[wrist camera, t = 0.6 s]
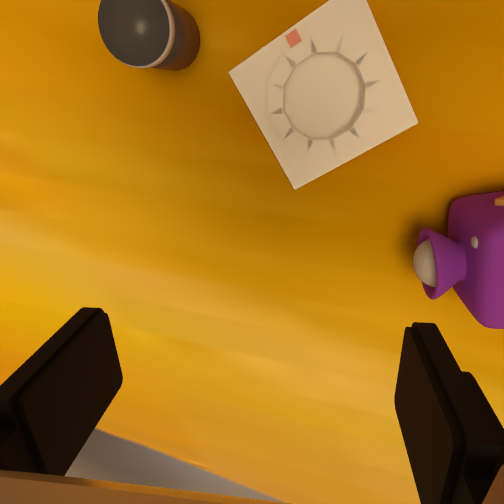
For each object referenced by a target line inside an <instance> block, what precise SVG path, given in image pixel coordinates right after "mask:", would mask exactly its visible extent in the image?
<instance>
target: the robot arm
mask: <svg viewBox="0 0 504 504" xmlns="http://www.w3.org/2000/svg"><path fill="white" fill-rule="evenodd" d="M122 380H123V376H122V371H121V367H120V363H119V359H118V354H117V350H116V346H115V342H114V338H113V333H112V329H111V325H110V321H109V317H108V314H107V313H104V311H103V310H102V309H101V308H89V307H84V308H81V309H80V310H79V311H78V312H77V313H76V314H75V315H74V316H73V317H72V318H71V319H69V320H68V321H67V322H66V323H65V324H64V325H63V326H62V327H61V328H60V329H59V330H58V331H57V332H56V333H55V334H54V335H53V336H52V337H51V338H50V339H49V340H48V341H46V342H45V343H44V344H43V345H42V346H41V347H40V348H39V349H38V350H37V351H36V352H35V353H34V354H33V355H32V356H31V357H30V358H29V359H28V360H27V361H26V362H25V363H23V364H22V365H21V366H20V367H19V368H18V369H17V370H16V371H15V372H14V373H13V374H12V375H11V376H10V377H9V378H8V379H7V380H6V381H5V382H4V383H3V384H2V385H0V504H290V503H282V502H274V501H265V500H258V499H249V498H242V497H234V496H226V495H218V494H210V493H201V492H193V491H185V490H177V489H169V488H160V487H152V486H144V485H134V484H126V483H117V482H110V481H100V480H92V479H83V478H74V477H65V476H64V475H65V474H66V472H67V471H68V469H69V467H70V466H71V464H72V463H73V461H74V460H75V458H76V456H77V455H78V453H79V452H80V450H81V448H82V447H83V445H84V444H85V442H86V441H87V439H88V438H89V436H90V434H91V433H92V431H93V430H94V428H95V427H96V425H97V423H98V422H99V420H100V419H101V417H102V416H103V414H104V412H105V411H106V409H107V408H108V406H109V405H110V403H111V401H112V400H113V398H114V397H115V395H116V394H117V392H118V390H119V389H120V387H121V385H122ZM395 409H396V413H397V417H398V420H399V424H400V428H401V431H402V435H403V439H404V443H405V446H406V450H407V454H408V457H409V461H410V465H411V468H412V472H413V476H414V480H415V483H416V487H417V491H418V494H419V498H420V502H421V504H504V428H503V427H502V425H501V423H500V421H499V420H498V418H497V416H496V415H495V413H494V411H493V409H492V408H491V406H490V404H489V402H488V401H487V399H486V397H485V395H484V394H483V392H482V390H481V388H480V387H479V385H478V383H477V381H476V380H475V378H474V377H473V375H472V374H471V373H469V372H463V371H461V370H460V368H459V366H458V364H457V362H456V360H455V359H454V357H453V355H452V353H451V351H450V349H449V348H448V346H447V344H446V342H445V340H444V338H443V336H442V335H441V333H440V331H439V329H438V327H437V326H436V324H434V323H418V322H414V323H413V324H412V327H406V328H405V332H404V338H403V345H402V352H401V358H400V365H399V371H398V378H397V384H396V391H395Z"/></svg>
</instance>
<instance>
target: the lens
mask: <svg viewBox="0 0 504 504" xmlns="http://www.w3.org/2000/svg"><path fill="white" fill-rule="evenodd" d="M98 24H99V30H100V34H101V37H102V39H103V41H104V43H105V45H106V47H107V48H108V50H109V51H110V52H111V53H112V54H113V55H114V56H115V57H116V58H117V59H118V60H120V61H121V62H122V63H124V64H126V65H128V66H131V67H136V68H158V69H166V70H181V69H184V68H186V67H188V66H189V65H190V64H191V63H192V62H193V61H194V59H195V58H196V56H197V54H198V51H199V47H200V33H199V29H198V26H197V24H196V22H195V20H194V19H193V17H192V16H191V15H190V14H189V13H188V12H187V11H186V10H184V9H183V8H181V7H180V6H178V5H176V4H175V3H173V2H171V1H170V0H101V3H100V6H99V12H98Z"/></svg>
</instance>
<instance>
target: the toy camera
mask: <svg viewBox="0 0 504 504" xmlns="http://www.w3.org/2000/svg"><path fill="white" fill-rule="evenodd" d="M413 267H414V270H415V273H416V275H417V276H418V278H419V279H420V280H421V281H422V284H423V288H424V290H425V292H426V294H427V296H428V297H429V298H430V299H436V298H438V297H440V296H441V295H442V294H444V293H445V292H446V291H447V290H449V289H450V288H451V287H453V288H454V290H455V291H456V293H457V294H458V296H459V297H460V299H461V300H462V302H463V303H464V304H465V306H466V307H467V308H468V310H469V311H470V312H471V314H472V315H473V316H474V317H475V319H476V320H477V321H478V322H479V323H480V324H482V325H483V326H485V327H488V328H494V329H504V191H500V192H492V193H485V194H477V195H470V196H465V197H461V198H458V199H456V200H455V201H453V203H452V204H451V206H450V210H449V217H448V235H447V237H445V236H443V235H442V234H440V233H438V232H436V231H434V230H431V229H428V228H422V229H421V231H420V233H419V236H418V241H417V249H416V251H415V253H414V256H413Z"/></svg>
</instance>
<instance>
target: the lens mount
mask: <svg viewBox="0 0 504 504" xmlns="http://www.w3.org/2000/svg"><path fill="white" fill-rule="evenodd" d="M229 74H230V76H231V78H232V80H233V81H234V83H235V85H236V87H237V88H238V90H239V92H240V94H241V96H242V97H243V99H244V101H245V103H246V104H247V106H248V108H249V110H250V111H251V113H252V115H253V117H254V119H255V120H256V122H257V124H258V126H259V127H260V129H261V131H262V133H263V135H264V136H265V138H266V140H267V142H268V143H269V145H270V147H271V149H272V151H273V152H274V154H275V156H276V158H277V159H278V161H279V163H280V165H281V167H282V168H283V170H284V172H285V174H286V175H287V177H288V179H289V181H290V182H291V184H292V186H293V188H294V190H296V189H298V188H299V187H301V186H303V185H305V184H307V183H309V182H311V181H312V180H314V179H316V178H318V177H320V176H322V175H323V174H325V173H327V172H329V171H331V170H333V169H335V168H336V167H338V166H340V165H342V164H344V163H346V162H347V161H349V160H351V159H353V158H355V157H357V156H358V155H360V154H362V153H364V152H366V151H368V150H370V149H371V148H373V147H375V146H377V145H379V144H381V143H382V142H384V141H386V140H388V139H390V138H392V137H393V136H395V135H397V134H399V133H401V132H403V131H405V130H406V129H408V128H410V127H412V126H414V125H416V124H417V123H418V121H417V118H416V116H415V113H414V111H413V109H412V106H411V104H410V102H409V99H408V97H407V95H406V92H405V90H404V88H403V85H402V83H401V80H400V78H399V76H398V73H397V71H396V69H395V66H394V64H393V62H392V59H391V57H390V55H389V52H388V50H387V47H386V45H385V43H384V40H383V38H382V36H381V33H380V31H379V29H378V26H377V24H376V22H375V19H374V17H373V14H372V12H371V10H370V7H369V5H368V3H367V0H329V1H327V2H326V3H325V4H323V5H322V6H320V7H319V8H318V9H316V10H315V11H313V12H312V13H311V14H309V15H308V16H306V17H305V18H304V19H302V20H301V21H299V22H298V23H296V24H295V25H294V26H292V27H291V28H289V29H288V30H287V31H285V32H284V33H282V34H281V35H280V36H278V37H277V38H275V39H274V40H273V41H271V42H270V43H268V44H267V45H266V46H264V47H263V48H261V49H260V50H259V51H257V52H256V53H254V54H253V55H252V56H250V57H249V58H247V59H246V60H245V61H243V62H242V63H240V64H239V65H238V66H236V67H235V68H233V69H232V70H231V71H229Z"/></svg>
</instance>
